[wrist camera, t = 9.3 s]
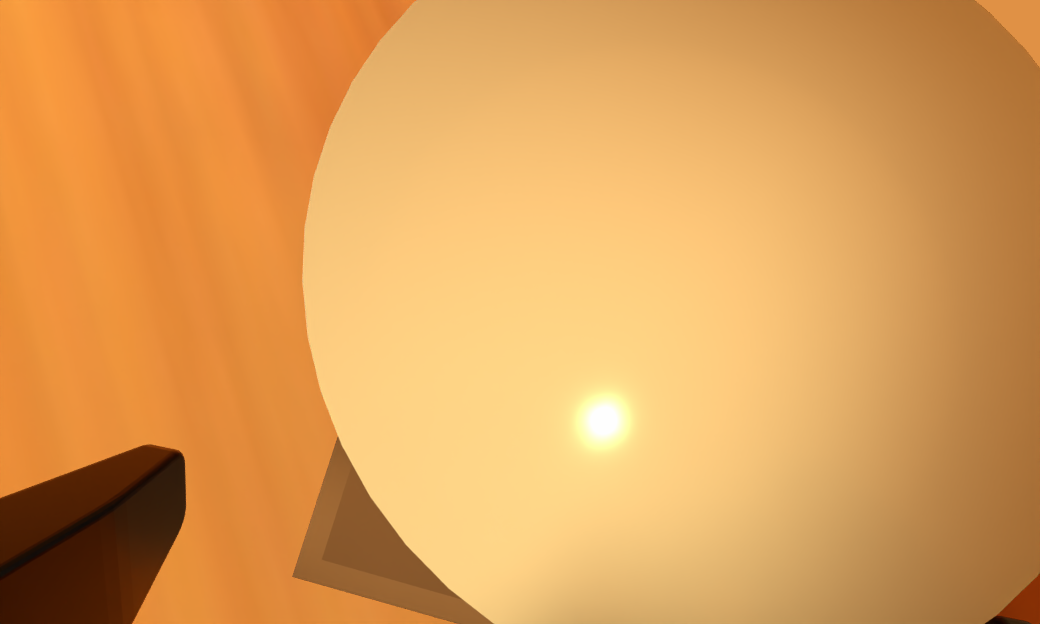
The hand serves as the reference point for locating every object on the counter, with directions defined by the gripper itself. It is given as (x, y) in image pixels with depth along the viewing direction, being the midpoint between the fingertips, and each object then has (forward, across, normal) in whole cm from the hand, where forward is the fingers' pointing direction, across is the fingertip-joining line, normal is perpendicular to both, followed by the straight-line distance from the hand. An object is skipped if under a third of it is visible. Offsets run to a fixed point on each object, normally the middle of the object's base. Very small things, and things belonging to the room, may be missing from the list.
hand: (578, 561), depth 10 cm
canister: (+9, 0, -5) cm, 10 cm away
